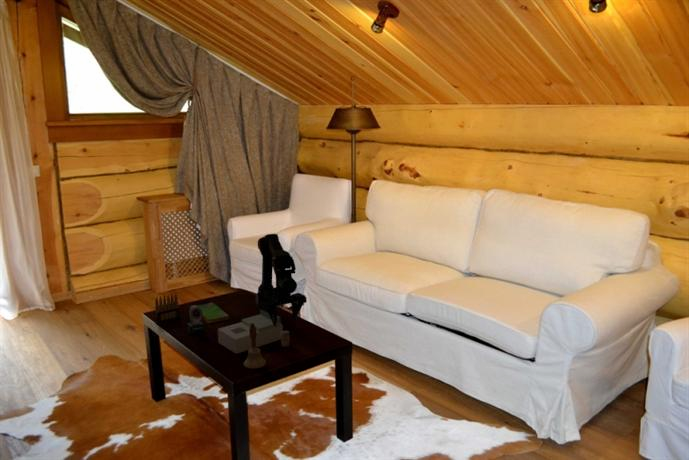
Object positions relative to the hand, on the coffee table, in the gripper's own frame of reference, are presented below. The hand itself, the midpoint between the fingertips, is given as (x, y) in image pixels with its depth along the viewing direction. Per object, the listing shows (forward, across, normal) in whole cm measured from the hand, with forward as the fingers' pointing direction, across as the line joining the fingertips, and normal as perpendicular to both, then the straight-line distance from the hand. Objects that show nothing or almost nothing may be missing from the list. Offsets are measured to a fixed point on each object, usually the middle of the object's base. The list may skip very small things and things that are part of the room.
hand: (284, 322), depth 229 cm
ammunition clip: (+10, +24, -57) cm, 63 cm away
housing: (+10, +8, -13) cm, 18 cm away
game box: (+10, +6, -51) cm, 52 cm away
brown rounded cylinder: (+10, 0, 0) cm, 10 cm away
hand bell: (+10, +18, +6) cm, 21 cm away
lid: (+3, +3, -13) cm, 14 cm away
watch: (+10, +20, -38) cm, 44 cm away
